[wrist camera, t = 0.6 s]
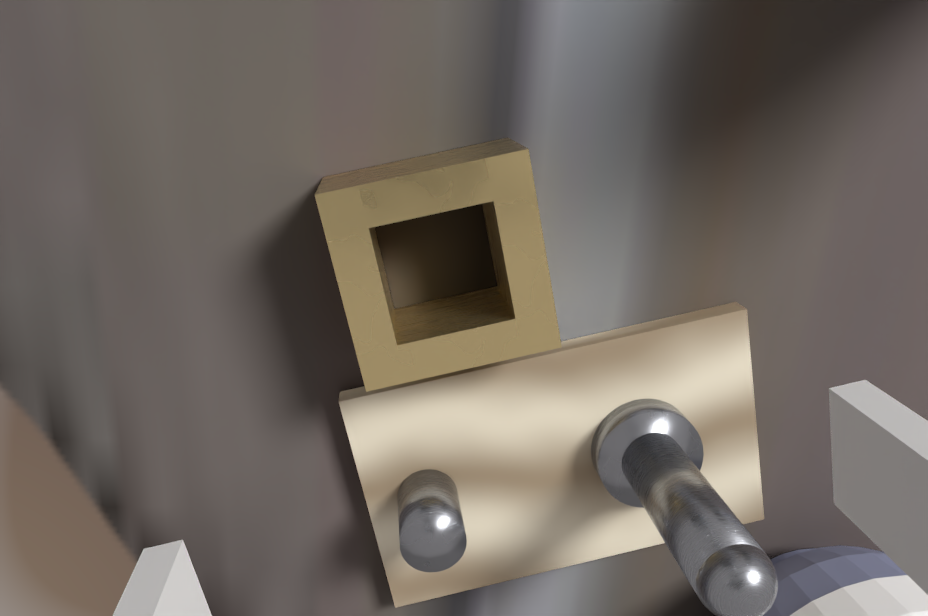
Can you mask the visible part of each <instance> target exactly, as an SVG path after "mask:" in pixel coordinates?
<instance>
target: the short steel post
mask: <svg viewBox="0 0 928 616" xmlns="http://www.w3.org/2000/svg"><path fill="white" fill-rule="evenodd" d="M397 501H398V521H399V542H400V552H401V555H402V557H403V559H404V560H405V561H406V562H407V563H408V564H409V565H410V566H411V567H413V568H415V569H417V570H419V571H423V572H440V571H443V570H446V569H448V568H450V567H452V566H453V565H455V564H456V563H457V562H458V561H459V560H460V559H461V557H462V556H463V554H464V552H465V549H466V545H467V539H466V533H465V528H464V523H463V517H462V512H461V507H460V502H459V496H458V491H457V487H456V485H455V483H454V481H453V480H452V479H451V478H450V477H449V476H448V475H447V474H445V473H443V472H441V471H438V470H434V469H425V470H420V471H417V472H414V473H412V474H411V475H409V476H408V477H407V478H406V479H405V480H404V481H403V482H402V484H401V485H400V487H399V490H398V495H397Z"/></svg>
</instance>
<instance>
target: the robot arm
mask: <svg viewBox="0 0 928 616" xmlns="http://www.w3.org/2000/svg"><path fill="white" fill-rule="evenodd" d="M829 399H830V424H831V448H832V472H833V497H834V504H835V505H836V506H837V507H838V508H839V509H840V510H841V511H842V512H843V513H844V514H845V515H846V516H847V517H848V518H849V519H850V520H851V521H852V522H853V523H854V524H855V525H856V526H857V527H858V528H859V529H860V530H862V531H863V532H864V533H865V534H866V535H867V536H868V537H869V538H870V539H871V540H872V541H873V542H874V543H875V544H876V545H877V546H878V547H879V548H880V549H881V550H882V551H883V552H884V553H885V554H886V555H887V556H888V557H889V558H890V559H891V560H892V561H893V562H894V563H895V564H896V565H897V566H898V567H900V568H901V569H902V570H903V571H904V572H905V573H906V574H907V575H908V576H909V577H910V578H911V579H912V580H913V581H914V582H915V583H916V584H917V585H918V586H919V587H920V588H921V589H922V590H923V591H924V592H925V593H926V594H927V595H928V421H927V420H926V419H924V418H922V417H921V416H919V415H918V414H916V413H915V412H913V411H912V410H910V409H909V408H907V407H906V406H904V405H903V404H901V403H900V402H898V401H897V400H895V399H894V398H892V397H891V396H889V395H888V394H886V393H885V392H883V391H882V390H880V389H878V388H877V387H875V386H874V385H872V384H871V383H869V382H868V381H866V380H862V381H858V382H854V383H850V384H845V385H841V386H837V387H833V388H829ZM113 616H212V615H211V612H210V610H209V607H208V604H207V602H206V599H205V596H204V594H203V591H202V589H201V586H200V583H199V581H198V578H197V575H196V573H195V570H194V568H193V565H192V562H191V560H190V557H189V554H188V552H187V549H186V547H185V544H184V541H183V540H180V541H175V542H171V543H167V544H163V545H158V546H154V547H150V548H146V549H143V551H142V554H141V556H140V558H139V560H138V562H137V564H136V566H135V569H134V571H133V573H132V575H131V577H130V579H129V581H128V584H127V586H126V588H125V590H124V592H123V595H122V596H121V599H120V601H119V603H118V605H117V607H116V610H115V611H114V614H113Z"/></svg>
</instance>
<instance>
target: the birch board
mask: <svg viewBox="0 0 928 616" xmlns="http://www.w3.org/2000/svg"><path fill="white" fill-rule="evenodd" d="M561 346H562V347H561V348H557V349H552V350H548V351H544V352H539V353H535V354H530V355H526V356H522V357H517V358H513V359H508V360H504V361H500V362H495V363H491V364H486V365H482V366H478V367H473V368H469V369H464V370H460V371H456V372H451V373H447V374H442V375H438V376H434V377H429V378H425V379H420V380H416V381H412V382H407V383H403V384H398V385H394V386H390V387H385V388H381V389H376V390H372V391H367V392H366V389H365V386H363V387H358V388H354V389H350V390H345V391H341V392H340V394H339V405H340V409H341V413H342V416H343V420H344V423H345V427H346V431H347V434H348V438H349V442H350V445H351V449H352V452H353V456H354V460H355V463H356V467H357V471H358V474H359V478H360V481H361V485H362V489H363V492H364V496H365V500H366V503H367V507H368V510H369V514H370V518H371V521H372V525H373V529H374V532H375V536H376V539H377V543H378V547H379V550H380V554H381V558H382V561H383V565H384V568H385V572H386V576H387V579H388V583H389V587H390V590H391V594H392V597H393V601H394V605H395V608H396V607H400V606H404V605H408V604H413V603H417V602H421V601H425V600H429V599H433V598H438V597H442V596H446V595H450V594H454V593H458V592H463V591H467V590H471V589H475V588H479V587H483V586H488V585H492V584H496V583H500V582H504V581H508V580H513V579H517V578H521V577H525V576H529V575H533V574H538V573H542V572H546V571H550V570H554V569H558V568H563V567H567V566H571V565H575V564H579V563H583V562H588V561H592V560H596V559H600V558H604V557H608V556H613V555H617V554H621V553H625V552H629V551H633V550H638V549H642V548H646V547H650V546H654V545H658V544H663V543H665V542H664V540H663V538H662V537H661V535H660V533H659V532H658V530H657V528H656V527H655V525H654V523H653V522H652V520H651V518H650V517H649V515H648V514H647V512H646V510H645V509H644V508H640V507H633V506H629V505H626V504H624V503H622V502H620V501H618V500H617V499H615V498H614V497H613V496H612V495H611V494H610V493H609V492H608V491H607V490H606V488H605V486H604V485H603V483H602V481H601V479H600V477H599V475H598V474H597V472H596V470H595V468H594V465H593V462H592V458H591V444H592V439H593V436H594V434H595V431H596V429H597V427H598V426H599V424H600V423H601V422H602V420H603V419H604V418H605V417H606V416H607V415H608V414H609V413H610V412H611V411H613V410H614V409H616V408H617V407H619V406H621V405H622V404H625V403H627V402H630V401H633V400H638V399H657V400H662V401H665V402H667V403H669V404H671V405H673V406H674V407H676V408H677V409H678V410H679V411H680V412H681V413H682V414H683V415H684V416H685V417H686V418H687V419H688V421H689V422H690V423H691V424H692V425H693V426H694V428H695V429H696V430H697V432H698V433H699V435H700V437H701V440H702V444H703V453H704V455H703V463H702V467H701V469H700V472H701V473H702V474H703V476H704V477H705V478H706V479H707V481H708V482H709V483H710V484H711V486H712V487H713V488H714V489H715V491H716V492H717V493H718V494H719V496H720V497H721V498H722V499H723V500H724V502H725V503H726V504H727V505H728V507H729V508H730V509H731V510H732V512H733V513H734V514H735V515H736V517H737V518H738V519H739V520H740V522H741V523H742V524H746V523H750V522H754V521H758V520H762V519H764V511H763V499H762V487H761V475H760V463H759V450H758V438H757V426H756V414H755V402H754V390H753V378H752V366H751V354H750V342H749V330H748V318H747V309H746V308H744V307H743V306H741V305H740V304H738V303H737V302H733V303H729V304H724V305H720V306H715V307H711V308H707V309H702V310H698V311H693V312H689V313H685V314H680V315H676V316H671V317H667V318H663V319H658V320H654V321H649V322H645V323H641V324H636V325H632V326H627V327H623V328H618V329H614V330H610V331H605V332H601V333H596V334H592V335H588V336H583V337H579V338H574V339H570V340H566V341H561ZM425 469H434V470H438V471H441V472H443V473H445V474H447V475H448V476H449V477H450V478H451V479H452V480H453V481H454V483H455V485H456V487H457V491H458V496H459V502H460V507H461V512H462V517H463V523H464V528H465V533H466V539H467V545H466V549H465V552H464V554H463V556H462V557H461V559H460V560H459V561H458V562H457V563H456V564H455V565H453V566H452V567H450V568H448V569H446V570H443V571H440V572H423V571H419V570H417V569H415V568H413V567H411V566H410V565H409V564H408V563H407V562H406V561H405V560H404V559H403V557H402V555H401V552H400V542H399V521H398V501H397V495H398V490H399V487H400V485H401V484H402V482H403V481H404V480H405V479H406V478H407V477H408V476H409V475H411V474H412V473H414V472H417V471H420V470H425Z"/></svg>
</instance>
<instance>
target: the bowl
mask: <svg viewBox="0 0 928 616" xmlns="http://www.w3.org/2000/svg"><path fill="white" fill-rule="evenodd" d="M770 560H771V561H772V563H773V565H774V567H775V570H776V574H777V579H778V590H777V595H776V598H775V601H774V603H773V604H772V606H771V608H770V609H769V610H768V611H767V612H766V613H765V614H764V615H762V616H928V595H927V594H926V593H925V592H924V591H923V590H922V589H921V588H920V587H919V586H918V585H917V584H916V583H915V582H914V581H913V580H912V579H911V578H910V577H909V576H908V575H907V574H906V573H905V572H904V571H903V570H902V569H901V568H900V567H898V566H897V565H896V564H895V563H894V562H893V561H892V560H891V559H890V558H889V557H888V556H887V555H886V554H885V553H884V552H881V551H876V550H872V549H867V548H863V547H852V546H831V547H822V548H816V549H815V548H811V549H801V550H795V551H791V552H788V553H784V554H781V555H779V556H777V557H774V558H772V559H770Z"/></svg>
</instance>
